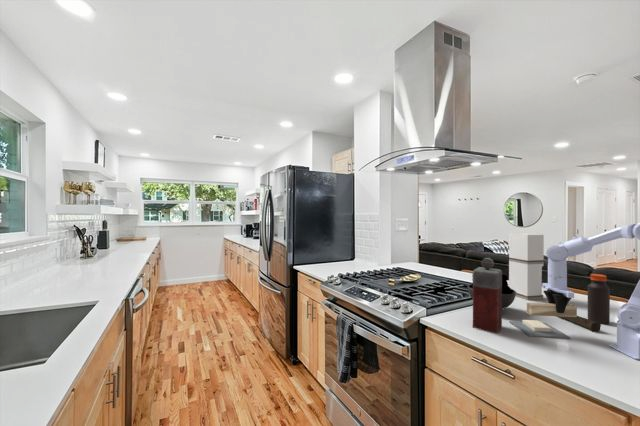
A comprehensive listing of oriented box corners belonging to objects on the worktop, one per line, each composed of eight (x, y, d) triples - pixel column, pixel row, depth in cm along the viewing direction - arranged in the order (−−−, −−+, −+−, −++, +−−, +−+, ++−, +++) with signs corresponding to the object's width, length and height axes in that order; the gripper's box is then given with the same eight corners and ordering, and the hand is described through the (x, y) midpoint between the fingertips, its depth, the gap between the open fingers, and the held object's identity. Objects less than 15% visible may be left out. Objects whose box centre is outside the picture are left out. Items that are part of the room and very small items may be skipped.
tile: (551, 328, 109) (538, 320, 117) (534, 327, 110) (522, 319, 118) (551, 332, 109) (538, 324, 117) (534, 331, 110) (522, 323, 118)
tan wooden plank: (576, 317, 108) (576, 306, 108) (531, 315, 110) (531, 305, 110) (570, 314, 111) (570, 304, 111) (526, 312, 113) (526, 302, 113)
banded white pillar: (543, 298, 154) (543, 234, 154) (527, 300, 152) (527, 234, 152) (524, 293, 165) (524, 233, 165) (509, 294, 163) (509, 233, 163)
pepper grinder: (502, 324, 117) (503, 257, 118) (498, 333, 109) (498, 260, 109) (478, 319, 123) (478, 255, 123) (472, 327, 115) (472, 258, 115)
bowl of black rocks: (521, 310, 136) (521, 270, 136) (508, 320, 122) (509, 276, 122) (476, 300, 151) (476, 265, 151) (460, 308, 137) (461, 269, 137)
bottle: (614, 325, 118) (614, 277, 118) (595, 323, 119) (595, 276, 119) (601, 319, 124) (601, 273, 124) (583, 317, 126) (583, 273, 126)
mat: (570, 338, 105) (570, 337, 105) (529, 336, 106) (529, 334, 106) (545, 324, 118) (545, 322, 118) (509, 322, 120) (509, 320, 120)
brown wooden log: (601, 332, 111) (601, 320, 111) (591, 332, 111) (592, 320, 111) (559, 315, 130) (559, 305, 130) (551, 315, 130) (551, 305, 130)
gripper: (534, 272, 118) (534, 304, 118) (559, 280, 103) (559, 317, 103) (552, 272, 117) (552, 305, 117) (580, 280, 103) (580, 318, 103)
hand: (557, 311), depth 110 cm, fingers closed on tan wooden plank, 3 cm apart
